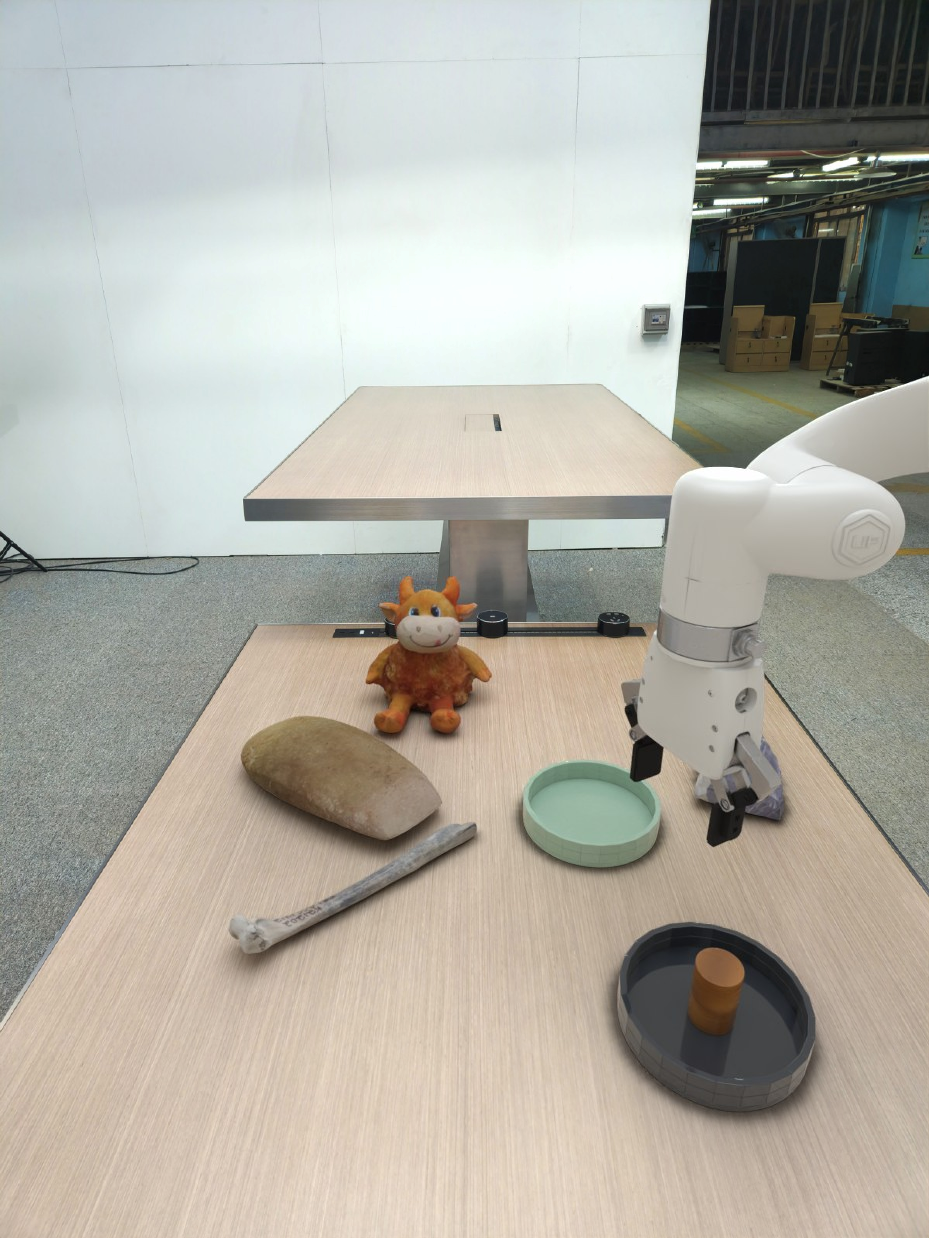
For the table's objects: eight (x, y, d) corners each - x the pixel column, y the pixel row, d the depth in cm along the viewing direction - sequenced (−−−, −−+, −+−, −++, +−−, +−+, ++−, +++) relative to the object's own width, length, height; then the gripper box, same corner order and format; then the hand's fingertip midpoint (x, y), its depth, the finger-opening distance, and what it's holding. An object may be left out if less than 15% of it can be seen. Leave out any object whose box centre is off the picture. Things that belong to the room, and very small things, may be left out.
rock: (785, 828, 90) (792, 793, 87) (692, 810, 93) (697, 776, 91) (775, 721, 111) (780, 691, 109) (699, 710, 114) (703, 680, 112)
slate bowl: (831, 1006, 68) (838, 981, 66) (772, 1156, 56) (779, 1129, 55) (664, 919, 77) (667, 896, 76) (583, 1033, 65) (586, 1007, 64)
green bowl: (680, 812, 92) (683, 791, 91) (617, 889, 81) (619, 866, 79) (567, 764, 102) (568, 745, 100) (496, 827, 90) (496, 806, 89)
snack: (741, 1011, 67) (751, 963, 64) (724, 1044, 64) (734, 994, 61) (698, 987, 69) (706, 939, 66) (679, 1018, 66) (687, 969, 64)
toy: (333, 723, 105) (363, 555, 111) (379, 742, 125) (401, 600, 132) (467, 738, 100) (489, 563, 107) (491, 755, 121) (508, 608, 128)
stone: (372, 830, 81) (376, 873, 83) (460, 764, 91) (461, 804, 94) (211, 735, 98) (218, 773, 101) (300, 690, 109) (305, 725, 111)
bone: (458, 823, 91) (458, 789, 89) (482, 842, 88) (482, 807, 86) (230, 948, 74) (223, 910, 72) (249, 977, 71) (242, 938, 69)
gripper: (834, 664, 53) (792, 853, 60) (668, 585, 67) (649, 745, 74) (758, 689, 50) (723, 885, 57) (600, 600, 64) (587, 766, 71)
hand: (681, 806), depth 66 cm, fingers open, 9 cm apart
